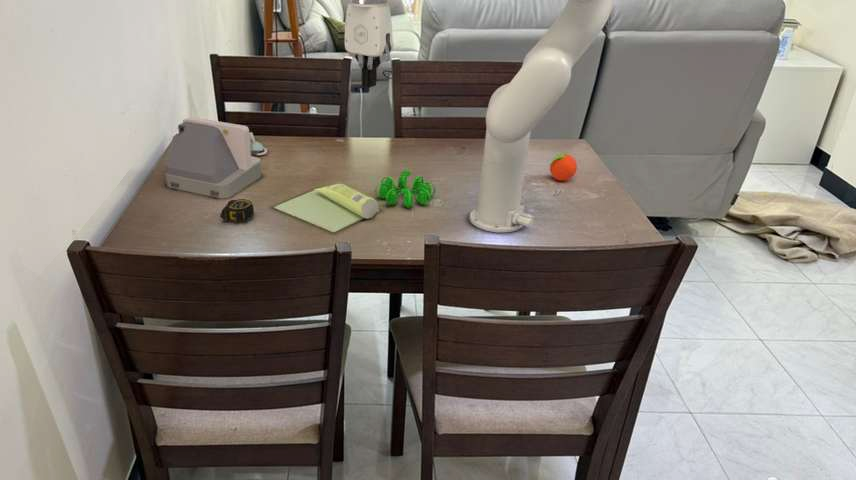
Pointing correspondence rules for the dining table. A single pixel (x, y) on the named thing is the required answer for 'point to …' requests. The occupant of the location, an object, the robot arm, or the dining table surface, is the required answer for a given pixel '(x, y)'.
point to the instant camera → (211, 158)
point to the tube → (351, 199)
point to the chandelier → (405, 190)
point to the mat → (320, 211)
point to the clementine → (563, 167)
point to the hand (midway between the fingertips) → (369, 86)
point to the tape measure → (237, 210)
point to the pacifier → (256, 146)
